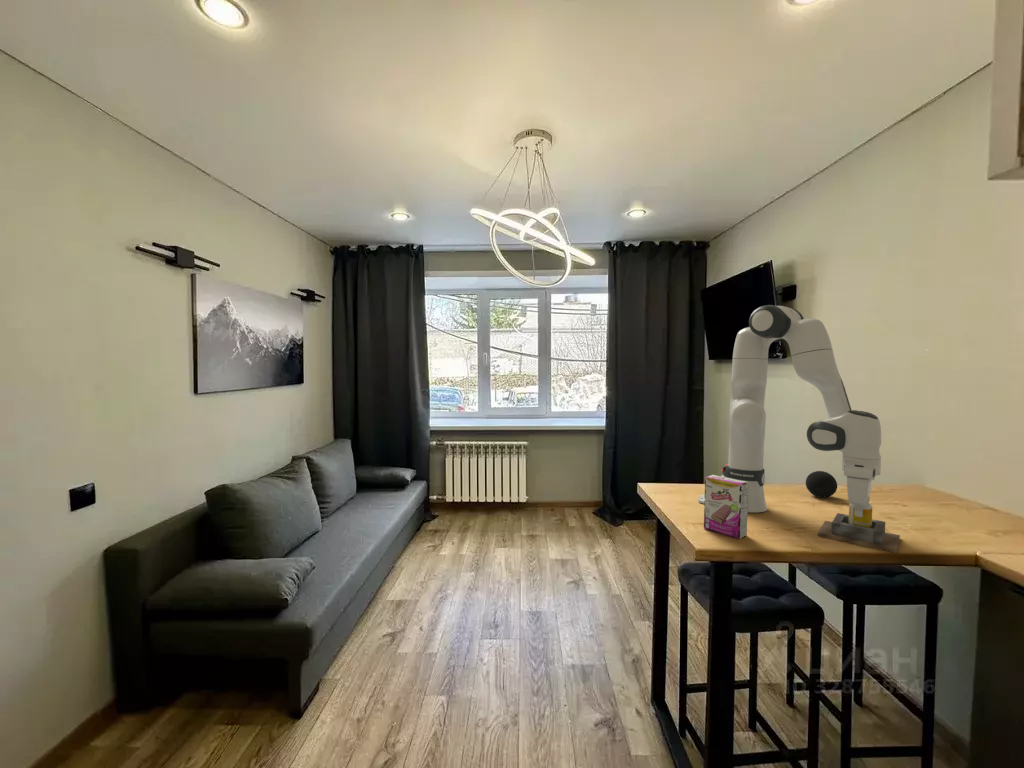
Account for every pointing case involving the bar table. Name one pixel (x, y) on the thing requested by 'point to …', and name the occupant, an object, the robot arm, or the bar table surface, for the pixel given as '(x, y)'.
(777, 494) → the bar table surface
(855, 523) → the supplement bottle
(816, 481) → the speaker
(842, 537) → the holder stand
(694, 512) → the bar table surface
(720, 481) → the candy bar box
